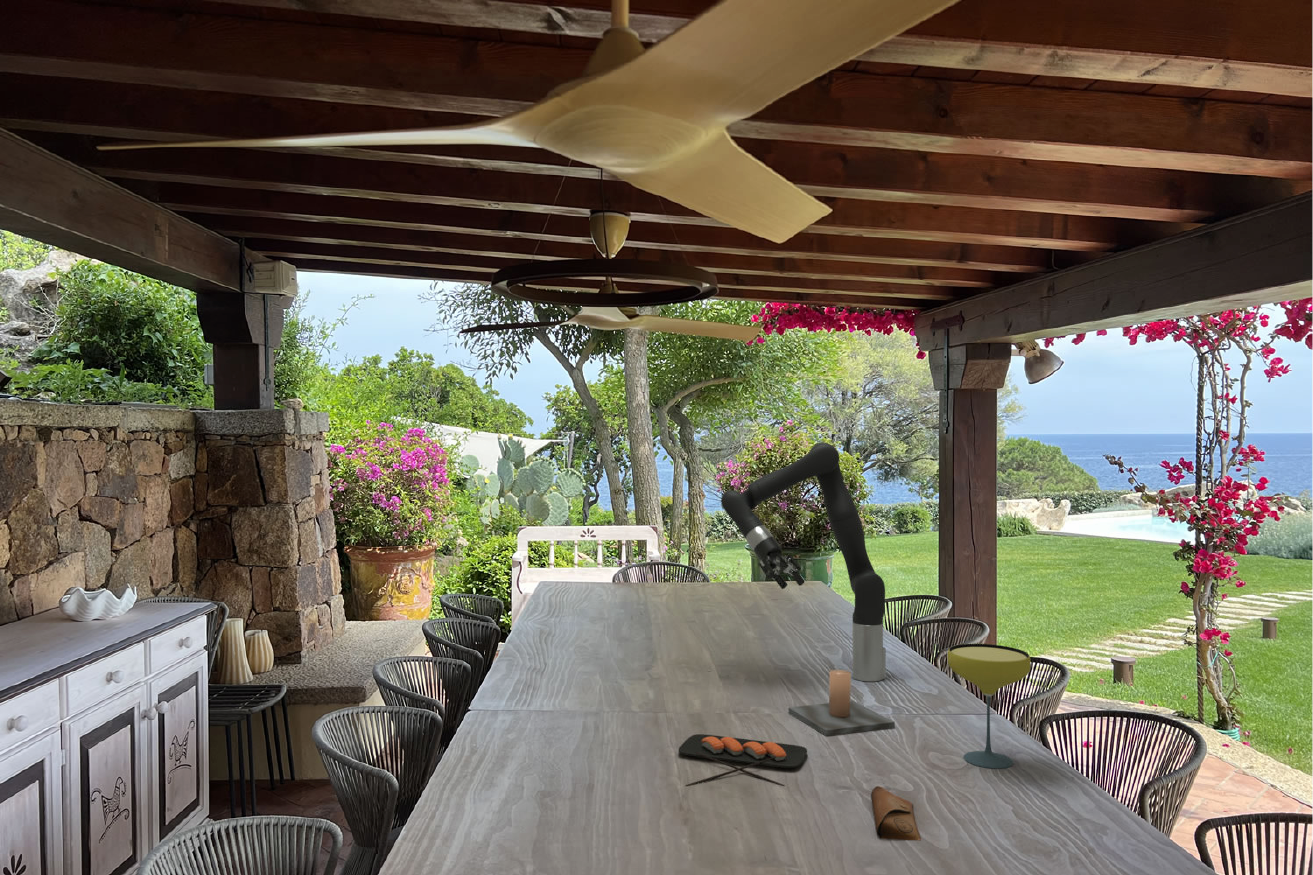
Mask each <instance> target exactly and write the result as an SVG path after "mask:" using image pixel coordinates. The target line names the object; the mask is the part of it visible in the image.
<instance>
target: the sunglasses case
mask: <svg viewBox="0 0 1313 875" xmlns="http://www.w3.org/2000/svg"><path fill="white" fill-rule="evenodd" d="M870 799H871V806H872V812H873V818H874V824H875V832H876V835H878V837H879V839H884V840H885V839H886V840H899V841H901V840H903V841H921V835H920V831H919V828H918V826H917V822H916V817H915V813H914V805H913V804H914V803H912V802H911V801H909V800H907V799H904V798H902V797H900V796H898V795H895V794H894V793H892V792H890V791H889V790H888V789H886V788H884V787H882V786H879V785H877V786H875V787H874V788H873V789H872V790H871V793H870Z"/></svg>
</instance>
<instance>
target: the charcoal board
mask: <svg viewBox="0 0 1313 875" xmlns="http://www.w3.org/2000/svg"><path fill="white" fill-rule="evenodd" d="M788 714H790V715H791V716H792V717H794V718H795V719H797V718H798V720H800V721H801V722H802V723H804V724H806V725H807V726H808V727H810V728H812V729H814V730H815V731H817V732H818V733H821V734H822V735H823V736H825V737H829V736H839V735H845V734H847V735H848V734H856V733H863V732H871V731H878V730H879V731H880V730H888V729H889V730H890V729H895V726H896V725H895V721H894V720H892V719H890V718H888V717H886V716H884V715H882V714H880V713H878V712H876V711H874V710H872V709H870V708H868V707H866V706H864V705H862V704H860V703H859V702H857V701H854V700H850V716H848V717H835V716H832V715H830V714H829V702H827V703H820V704H819V703H818V704H808V705H800V706H799V705H798V706H790V707H788Z"/></svg>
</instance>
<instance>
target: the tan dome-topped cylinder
mask: <svg viewBox="0 0 1313 875" xmlns="http://www.w3.org/2000/svg"><path fill="white" fill-rule="evenodd" d="M851 673H852V672H851V671H848V670H844V669H831V670H830V671H829V684H828V685H829V686H828V687H829V688H828V689H829V692H828V695H829V696H828V703H829V714H830V715H832V716H835V717H848V716H850V701H851V696H852V695H851V688H852V687H851V685H852V684H851V683H852V681H851V680H852V674H851Z"/></svg>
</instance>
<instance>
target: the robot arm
mask: <svg viewBox="0 0 1313 875" xmlns="http://www.w3.org/2000/svg"><path fill="white" fill-rule="evenodd" d="M813 477H816V479H817V481H818V483H819V485H820V488H821V492H822V497H823V501H824V506H825V509H826V514H827V517H828V518H827V519H828V521H829V525H830V527H831V530H832V532H833V535H834V538H835V540H836V543H837V545H838V548H839V550H840V552H841V554H842V557H843V560H844V562H845V566H846V569H847V570H846V571H847V574H848V578H849V583H850V584H849V585H850V588H851V590H852V593H854V609H853V613H852V672H851V673H852V678H853V679H854V680H857V681H860V682H861V681H862V682H863V681H864V682H879V681H882V680H886V678H887V677H886V676H887V675H886V671H887V670H886V669H887V668H886V667H887V666H886V660H887V659H886V658H887V657H886V656H887V655H886V652H887V650H886V647H884V616H885V612H886V610H885V609H886V585H885V581H884V580H883V578H882V577H881V576H880V575H879V574H877V573H876V572H875V570H874V567H873V565H872V563H871V561H870V560H871V559H870V557H869V556H868V552H867V547H866V540H865V539H866V538H865V531H864V528H863V523H862V520H861V517H860V514H859V511H858V509H857V507H856V503H855V502H854V500H853V498H852V496H851V494H850V491H849V490H848V487H847V486H846V484H845V481H844V478H843V474H842V471H841V468H840V453H839V451H838V450H837V449H836V447H835V446H833V445H832V444H831V443H828V442H817V443H816V444H814V445H813V446H812V447H811V448H810V450H809V452H808V453H806V454H805V455H804V456H802V457H801V458H800V459H797V460H796V461H794V462H793V463H791V464H789V465H786V466H785V467H782V468H778V469H777V470H774V471H772V472H770V473H767V474H766V475H763V476H762V477H760V478H757V479H756V480H754V481H752V482H750V483H749V484H748V486H747V489H746V490H744V491H743V492H742V493H740V492H739V491H736V490H734V489H733V490H732V489H731V490H728V491H727V490H726V491H725V492H724V493H723V494H722V496H721V498H720V499H721V500H720V505H721V508H723V510H724V511H725V512H726V513H727V515H728V516H729V517H730V519H732V521H733V522H734V524H735V525H736V527H737V528H738V530H739V531H740V533H741V534H742V536H743V537H744V539H745V540H746V542H747V544H748V545H749V547H750V548H751V550H752V551H753V553H754V554H755V555H756V557H757V558H758V559H759V560H760V561H759V562H758V565H759V568H760V569H761V570H762V571H763V573H764V575H765V576H766V578H767V579H769V580H771V579H772V580H773V581H775V582H776V583H777V585H778V586H779V588H780V589H782V590H784V589H786V588H787V586H788V582H787V581H786V580H785V579H784V577H783V576H782V574H781V572H783V573H784V574H789V575H790V576H791V577H792V579H794V581H795V582H796V585H797V586H803V585H804V583H805V579H804V578H803V576H802V575H801V574H800V573H799V572H800V571H801V569H802V567H801V566H800V565H799V564H798V562H797V561H796V559H794V557H793V556H792V555H791V553H790V554H787V555H786V556H785V555H783V554H782V546H781V545H780V543H779V542H778V541H777V540H776V538H775V537H774V535H773V533H771V532H770V530H769V529H768V528H767V527H766V526H765V525H764V523H763V522H762V521H761V520H760V518H759V517H758V516H757V515H756V513H754V512H753V510H754V509H755V508H757V507H758V506H759V505H760V504H761V503H763V502H765V501H767V500H769V499H771V498H773V497H775V496H777V495H779V494H780V493H782V492H785V491H786V490H788V489H789V488H791V487H792V486H795V485H797V484H799V483H801V482H803V481H806V480H808V479H810V478H813Z"/></svg>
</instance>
